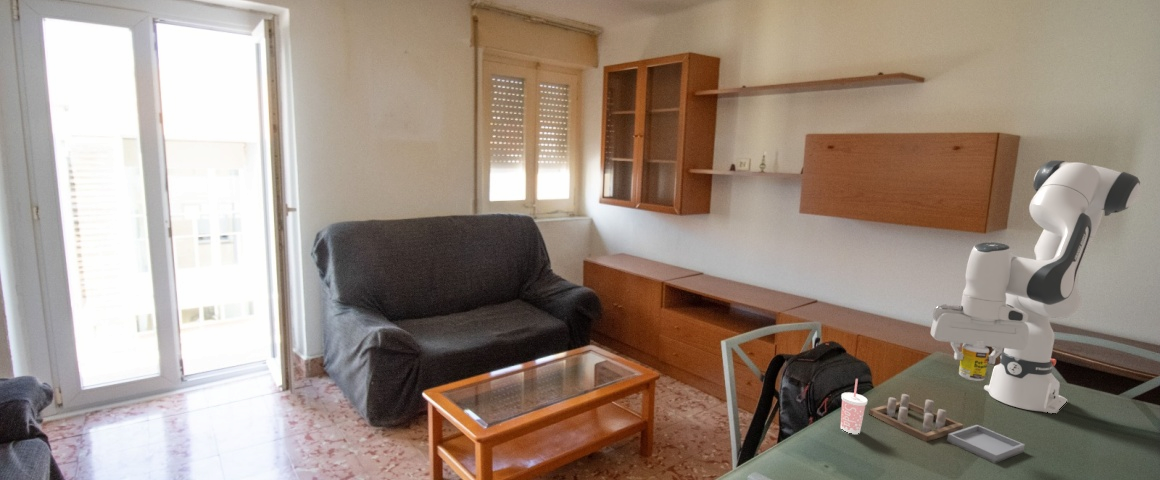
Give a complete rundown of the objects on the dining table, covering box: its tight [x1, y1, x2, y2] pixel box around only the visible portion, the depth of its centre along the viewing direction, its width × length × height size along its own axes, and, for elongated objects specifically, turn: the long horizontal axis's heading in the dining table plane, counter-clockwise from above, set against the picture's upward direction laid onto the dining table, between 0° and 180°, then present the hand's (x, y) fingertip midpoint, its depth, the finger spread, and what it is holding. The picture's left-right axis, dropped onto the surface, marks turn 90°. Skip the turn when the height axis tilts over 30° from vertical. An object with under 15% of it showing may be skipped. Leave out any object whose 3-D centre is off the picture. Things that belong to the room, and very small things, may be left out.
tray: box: [946, 424, 1026, 464], centre depth 141 cm, size 13×11×2 cm
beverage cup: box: [840, 378, 869, 435], centre depth 146 cm, size 6×6×14 cm
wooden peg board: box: [868, 393, 964, 442], centre depth 152 cm, size 16×16×5 cm
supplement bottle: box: [958, 341, 990, 382], centre depth 142 cm, size 6×6×10 cm
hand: (974, 361), depth 142 cm, fingers closed on supplement bottle, 5 cm apart
